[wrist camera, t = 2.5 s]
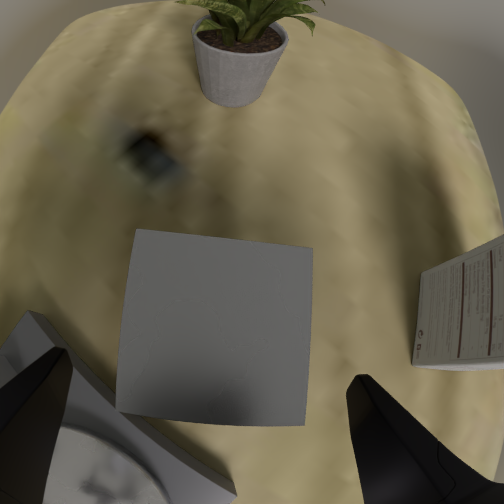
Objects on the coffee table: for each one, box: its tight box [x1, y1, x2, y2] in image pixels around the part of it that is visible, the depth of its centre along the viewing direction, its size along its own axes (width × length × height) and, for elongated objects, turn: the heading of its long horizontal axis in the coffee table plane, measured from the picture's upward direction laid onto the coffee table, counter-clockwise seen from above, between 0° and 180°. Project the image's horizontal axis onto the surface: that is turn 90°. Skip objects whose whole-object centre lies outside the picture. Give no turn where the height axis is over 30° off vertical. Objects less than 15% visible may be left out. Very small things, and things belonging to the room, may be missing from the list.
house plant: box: [173, 0, 325, 107], centre depth 16 cm, size 14×14×16 cm
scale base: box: [0, 310, 237, 504], centre depth 10 cm, size 14×16×5 cm
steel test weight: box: [115, 229, 313, 426], centre depth 12 cm, size 4×4×11 cm
